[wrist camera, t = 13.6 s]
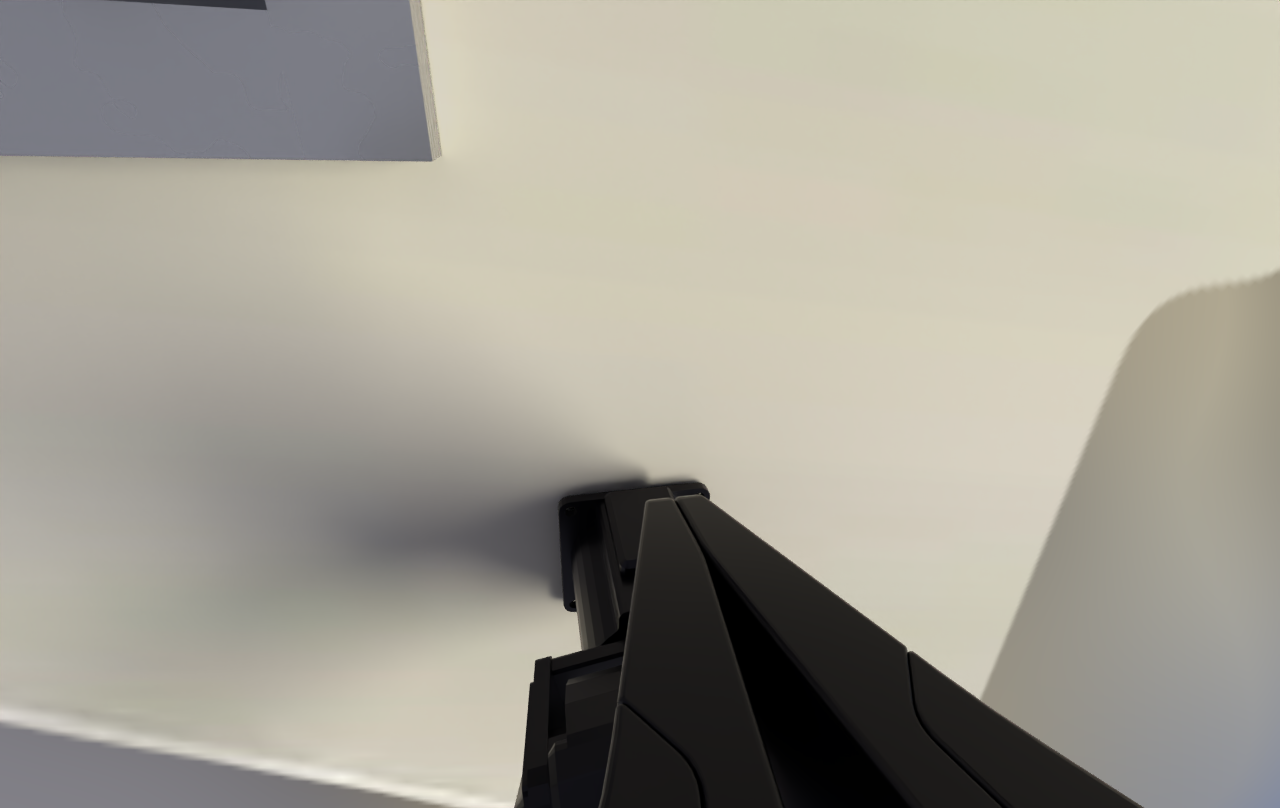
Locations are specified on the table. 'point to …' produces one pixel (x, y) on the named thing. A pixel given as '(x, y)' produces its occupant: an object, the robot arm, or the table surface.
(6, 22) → the socket
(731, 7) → the table surface
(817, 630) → the robot arm
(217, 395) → the table surface
